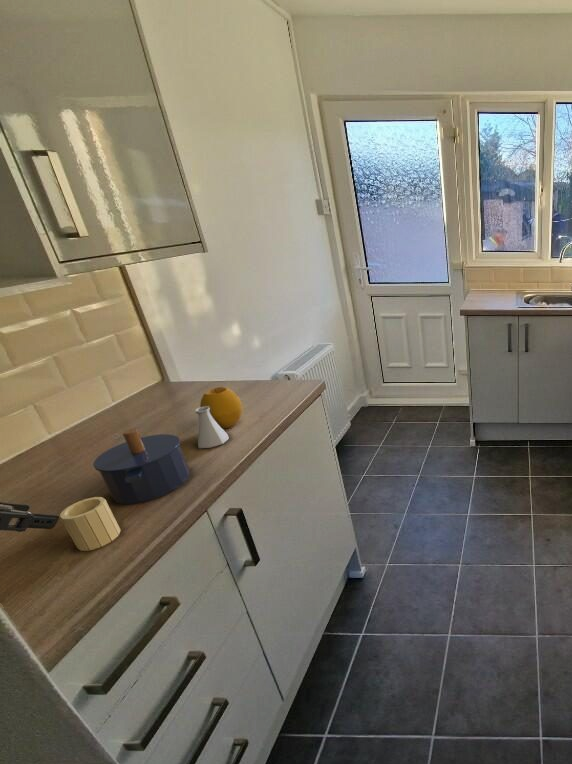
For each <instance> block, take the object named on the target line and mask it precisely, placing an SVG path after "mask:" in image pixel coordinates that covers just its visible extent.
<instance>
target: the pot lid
mask: <svg viewBox="0 0 572 764" xmlns="http://www.w3.org/2000/svg"><path fill="white" fill-rule="evenodd" d="M122 435H123V438H124V440H125V442H122V443H120V444H117V445H115V446H113V447H111V448H109V449H107V450H105V451H104V452H103V453H101V454H100V455H98V456H97V457H96V458H95V460H94V461H93V467H94V469H95V470H96V471H98V472H99V473H100V472H121V471H127V470H131V469H135V468H139V467H142V466H145V465H148V464H151V463H153V462H156V461H158V460H160V459H162V458H164V457H166V456H167V455H169V454H171V453H172V452H173V451H175V450H176V449H177V448H178V446H179V445H181V439H180V438H179V437H178V436H177V435H174V434H169V433H160V434H152V435H146V436H142V437H141V435H140V433H139V431H138V429H137V428H129V429H126V430H124V431H123V432H122Z"/></svg>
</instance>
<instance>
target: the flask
mask: <svg viewBox="0 0 572 764" xmlns="http://www.w3.org/2000/svg"><path fill="white" fill-rule="evenodd" d="M209 410H210V408H209V406H203V407H197V408H195V409H194V411H195V414H197V416H198V422H199V425H198V437H197V446H198V447H197V448H198V449H210V448H215V447H217V446H220V445H223V444H224V443H225V442H227V441H228V440H229V439H230V437H229V435H228V433H227V432H226V431H225V430H224V428H221V427H220V426H219V425H218V424H217V422H216V421H215V420H214V419H213V417H212V416H211V414H210V412H209Z"/></svg>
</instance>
